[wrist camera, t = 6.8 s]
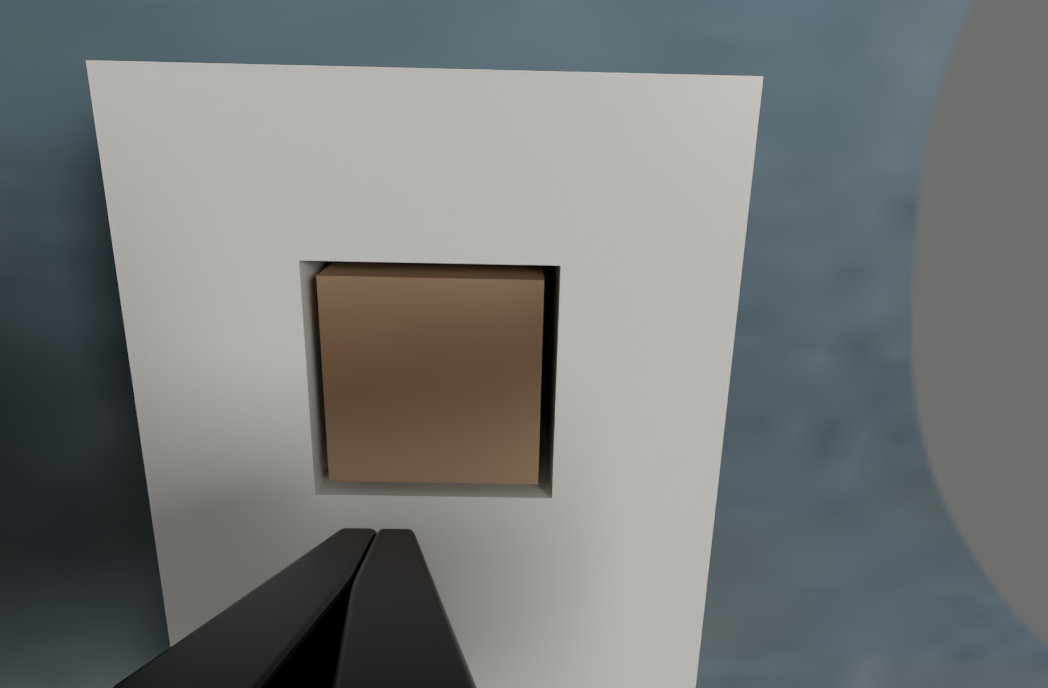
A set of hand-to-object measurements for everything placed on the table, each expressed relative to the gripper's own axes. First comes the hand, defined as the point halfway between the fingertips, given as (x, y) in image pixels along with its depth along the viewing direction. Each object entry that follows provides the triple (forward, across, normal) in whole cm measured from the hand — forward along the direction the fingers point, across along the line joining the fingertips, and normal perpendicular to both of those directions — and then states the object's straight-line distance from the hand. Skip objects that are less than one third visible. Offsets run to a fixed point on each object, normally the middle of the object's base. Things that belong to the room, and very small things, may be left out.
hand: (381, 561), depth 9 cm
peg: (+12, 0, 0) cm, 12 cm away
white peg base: (+12, 0, +6) cm, 14 cm away
